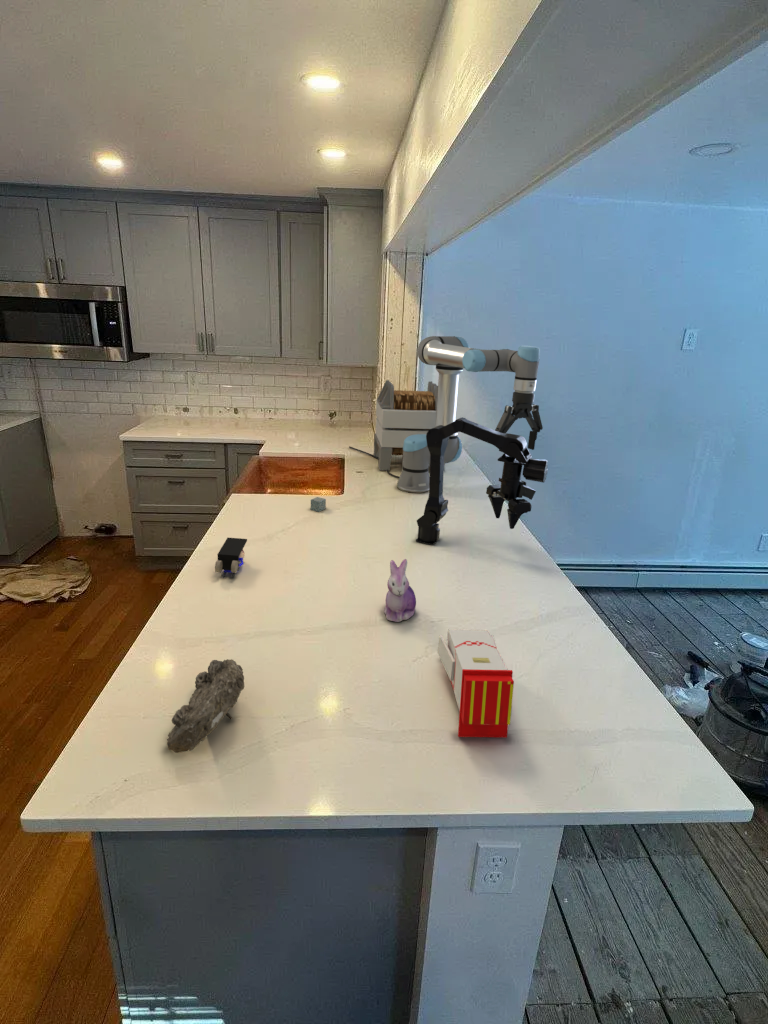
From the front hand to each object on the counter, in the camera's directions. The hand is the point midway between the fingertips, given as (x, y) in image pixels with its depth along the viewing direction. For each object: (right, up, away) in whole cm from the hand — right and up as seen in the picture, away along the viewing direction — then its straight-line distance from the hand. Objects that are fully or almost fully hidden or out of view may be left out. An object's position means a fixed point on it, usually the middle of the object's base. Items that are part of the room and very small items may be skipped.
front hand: (504, 523), depth 181 cm
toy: (-21, -34, -63) cm, 74 cm away
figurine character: (-83, -14, -14) cm, 86 cm away
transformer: (-27, +29, +111) cm, 118 cm away
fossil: (-71, -36, -73) cm, 108 cm away
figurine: (-35, -23, -34) cm, 54 cm away
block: (-64, +5, +39) cm, 75 cm away
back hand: (+10, +26, +26) cm, 38 cm away
